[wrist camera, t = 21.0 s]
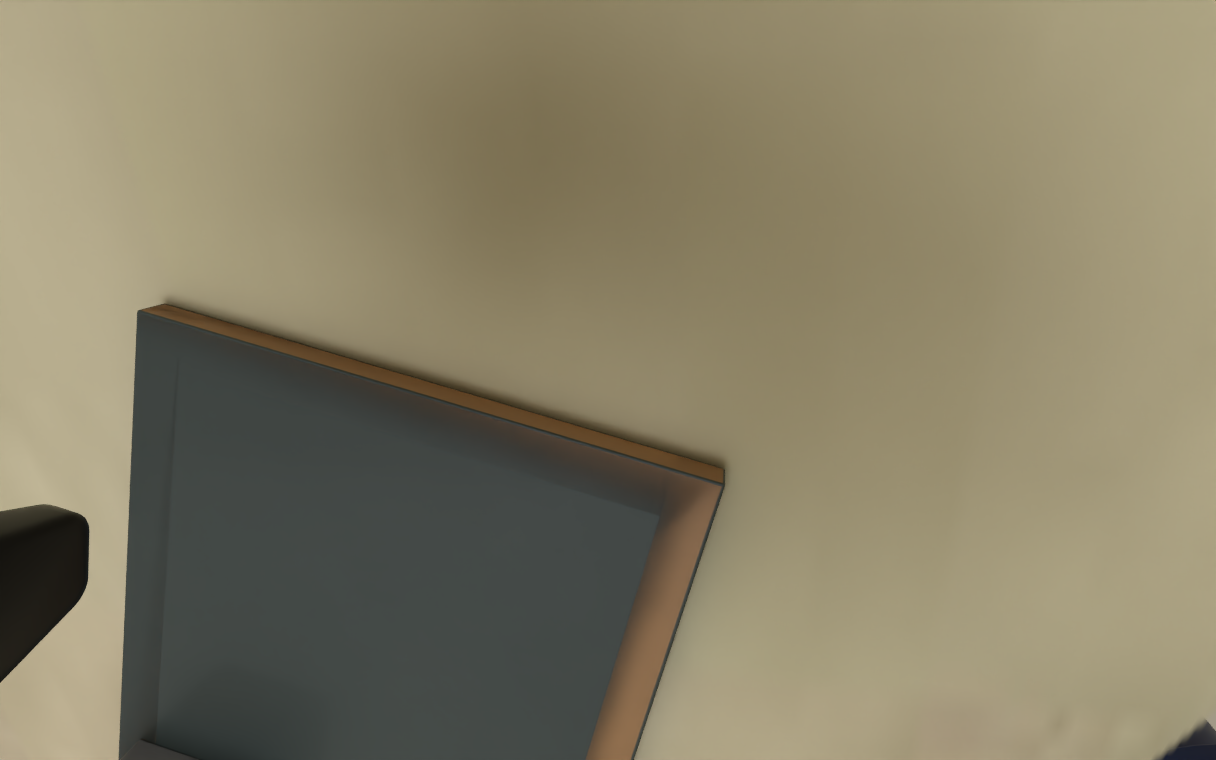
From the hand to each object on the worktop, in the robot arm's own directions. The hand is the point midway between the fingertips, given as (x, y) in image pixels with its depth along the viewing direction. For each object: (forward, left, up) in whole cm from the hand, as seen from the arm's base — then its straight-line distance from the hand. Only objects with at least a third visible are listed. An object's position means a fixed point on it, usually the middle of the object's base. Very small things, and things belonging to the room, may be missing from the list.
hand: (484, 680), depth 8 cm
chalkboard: (+5, +14, -12) cm, 19 cm away
